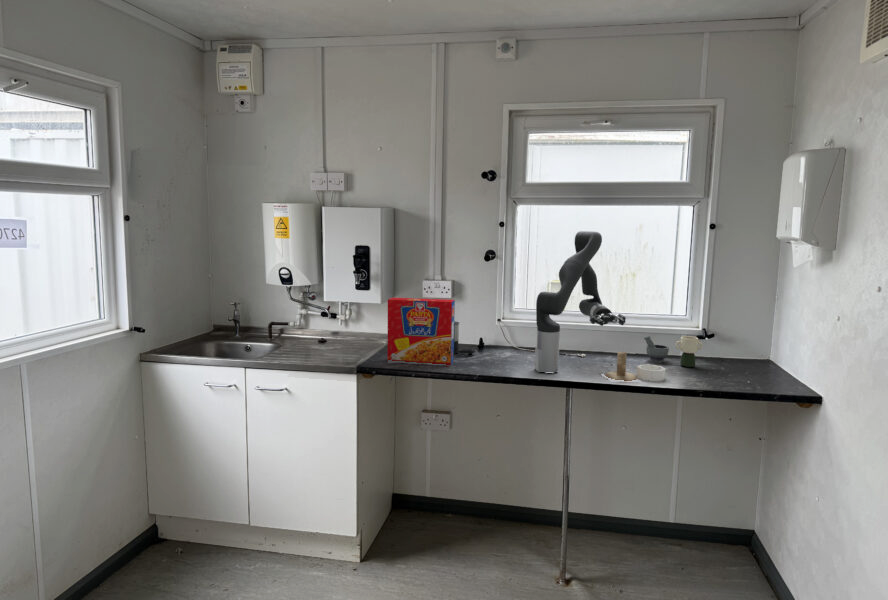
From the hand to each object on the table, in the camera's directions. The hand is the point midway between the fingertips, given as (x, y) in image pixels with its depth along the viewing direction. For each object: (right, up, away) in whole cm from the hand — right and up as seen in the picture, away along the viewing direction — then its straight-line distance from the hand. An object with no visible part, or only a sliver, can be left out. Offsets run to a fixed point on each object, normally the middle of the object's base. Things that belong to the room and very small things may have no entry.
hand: (612, 323), depth 233 cm
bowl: (+13, -22, -7) cm, 27 cm away
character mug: (+37, -20, +14) cm, 45 cm away
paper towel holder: (+1, -21, -7) cm, 23 cm away
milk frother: (-64, -16, +33) cm, 73 cm away
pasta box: (-80, -18, +14) cm, 83 cm away
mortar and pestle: (+26, -19, +23) cm, 40 cm away
